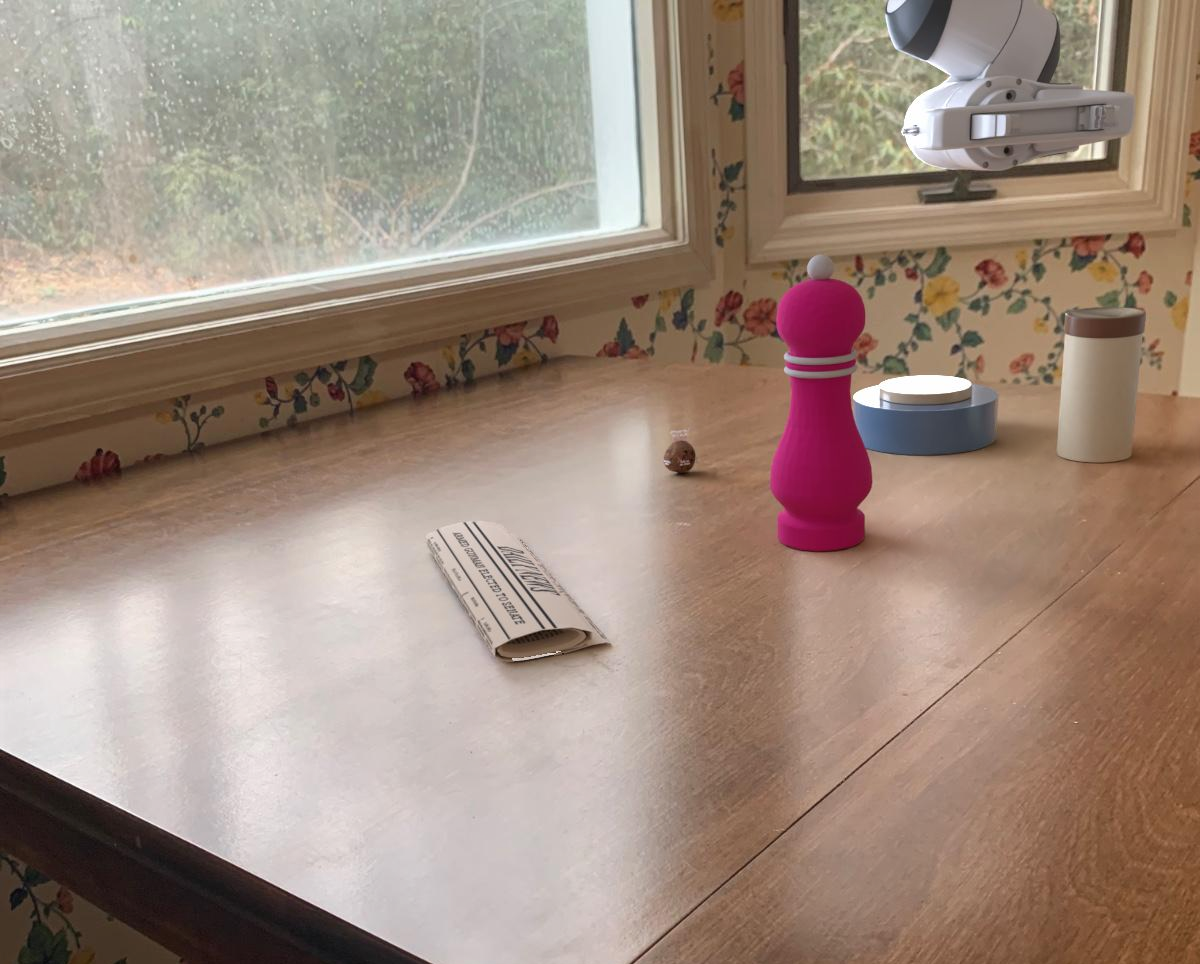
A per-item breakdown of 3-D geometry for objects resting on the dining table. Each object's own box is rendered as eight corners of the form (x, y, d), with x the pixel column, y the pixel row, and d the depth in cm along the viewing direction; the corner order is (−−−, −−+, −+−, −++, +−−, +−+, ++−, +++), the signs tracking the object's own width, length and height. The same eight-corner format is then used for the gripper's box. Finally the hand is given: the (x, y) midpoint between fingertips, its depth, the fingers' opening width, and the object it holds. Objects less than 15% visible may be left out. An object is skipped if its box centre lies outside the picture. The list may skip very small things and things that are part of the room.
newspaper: (426, 550, 92) (423, 527, 91) (516, 535, 93) (514, 513, 93) (495, 666, 70) (492, 638, 70) (610, 645, 72) (608, 617, 72)
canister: (1108, 442, 108) (1120, 304, 103) (1147, 458, 102) (1161, 314, 98) (1042, 449, 107) (1051, 311, 103) (1077, 466, 101) (1089, 320, 97)
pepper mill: (826, 561, 84) (826, 262, 76) (750, 540, 89) (743, 259, 82) (892, 535, 88) (898, 250, 80) (816, 516, 93) (815, 247, 86)
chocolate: (668, 479, 106) (666, 434, 104) (661, 472, 108) (659, 428, 106) (701, 474, 106) (699, 430, 105) (693, 468, 108) (692, 425, 107)
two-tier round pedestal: (960, 416, 120) (962, 366, 118) (1021, 446, 108) (1024, 391, 106) (834, 429, 119) (834, 378, 117) (881, 461, 107) (882, 405, 105)
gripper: (895, 97, 119) (953, 91, 106) (1091, 83, 121) (1171, 74, 109) (894, 165, 121) (951, 167, 109) (1086, 149, 124) (1164, 149, 111)
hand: (1063, 120), depth 109 cm, fingers open, 8 cm apart
